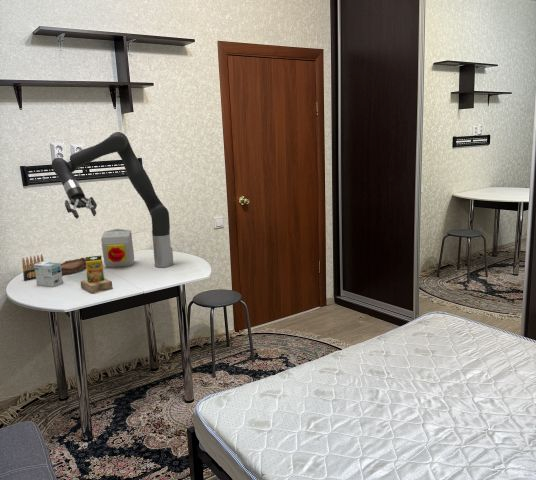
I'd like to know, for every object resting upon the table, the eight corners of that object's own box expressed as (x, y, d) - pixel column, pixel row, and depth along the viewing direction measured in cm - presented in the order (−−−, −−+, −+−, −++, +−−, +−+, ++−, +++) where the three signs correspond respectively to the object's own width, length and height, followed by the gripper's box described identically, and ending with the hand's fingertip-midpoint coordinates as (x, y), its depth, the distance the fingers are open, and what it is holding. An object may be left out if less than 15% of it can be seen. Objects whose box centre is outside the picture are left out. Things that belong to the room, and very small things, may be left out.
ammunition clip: (45, 275, 259) (42, 253, 256) (46, 276, 257) (43, 254, 255) (23, 280, 252) (20, 257, 249) (24, 281, 251) (21, 258, 248)
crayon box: (88, 282, 232) (85, 258, 230) (87, 281, 235) (84, 257, 232) (104, 280, 235) (101, 256, 233) (103, 278, 238) (101, 255, 235)
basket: (70, 263, 283) (69, 254, 282) (96, 267, 274) (95, 258, 272) (36, 274, 263) (35, 265, 262) (63, 278, 254) (62, 269, 253)
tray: (101, 283, 243) (100, 276, 242) (112, 288, 235) (111, 281, 234) (81, 288, 237) (80, 280, 236) (92, 293, 228) (91, 286, 227)
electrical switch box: (103, 273, 267) (98, 239, 260) (108, 262, 281) (103, 229, 273) (131, 272, 269) (127, 237, 261) (134, 261, 282) (130, 228, 275)
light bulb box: (63, 283, 246) (61, 261, 243) (53, 287, 239) (51, 265, 237) (46, 281, 249) (43, 260, 247) (36, 285, 243) (33, 264, 240)
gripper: (60, 187, 240) (73, 213, 235) (89, 184, 250) (102, 209, 244) (58, 197, 245) (70, 223, 240) (86, 194, 255) (98, 218, 249)
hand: (86, 216), depth 242 cm, fingers open, 8 cm apart
